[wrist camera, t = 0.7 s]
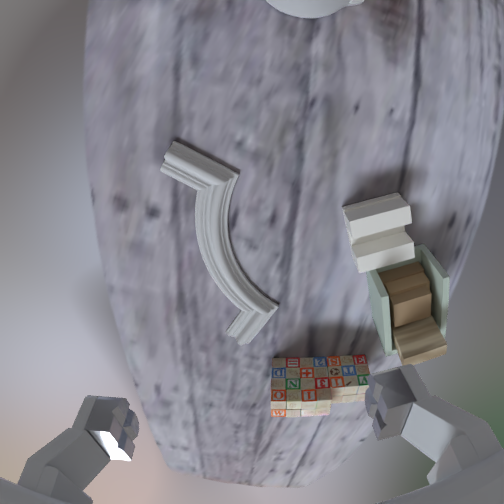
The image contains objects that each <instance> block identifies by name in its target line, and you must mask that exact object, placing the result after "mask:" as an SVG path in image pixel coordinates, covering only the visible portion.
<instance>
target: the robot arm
mask: <svg viewBox="0 0 504 504" xmlns="http://www.w3.org/2000/svg"><path fill="white" fill-rule="evenodd" d="M266 1H267V2H268V3H269V4H270V5H272V6H273V7H274V8H276V9H278V10H279V11H281V12H284V13H286V14H289V15H292V16H296V17H301V18H318V17H324V16H327V15H330V14H333V13H335V12H336V11H338V10H340V9H341V8H343V7H346V6H353V5H359V4H362V3H363V2H364V1H365V0H266ZM367 382H368V385H369V388H368V389H367V390H366V392H365V405H366V410H367V413H368V415H369V416H370V417H371V418H373V419H374V421H373V425H372V426H373V429H374V432H375V435H376V437H377V440H381V439H385V438H389V437H393V436H397V435H400V434H401V436H402V437H403V438H405V439H406V440H407V441H408V442H410V443H411V444H412V445H414V446H415V447H416V448H418V449H419V450H420V451H422V452H423V453H424V454H426V455H427V456H428V457H430V458H431V459H432V460H434V461H435V462H436V463H435V465H434V466H433V468H432V469H431V471H430V472H429V474H428V475H427V479H428V481H429V484H430V485H428V486H425V487H423V488H420V489H418V490H415V491H412V492H409V493H407V494H404V495H401V496H398V497H395V498H392V499H389V500H385V501H382V502H379V503H375V504H504V448H503V449H502V447H501V445H500V443H499V442H498V440H497V438H496V437H495V435H494V433H493V431H492V430H491V428H490V426H489V425H488V423H487V422H486V421H484V420H482V419H480V418H478V417H476V416H474V415H472V414H470V413H468V412H467V411H464V410H463V409H461V408H459V407H457V406H455V405H453V404H451V403H449V402H447V401H445V400H443V399H441V398H439V397H437V396H431V395H430V393H429V391H428V389H427V388H426V386H425V384H424V382H423V381H422V379H421V377H420V376H419V374H418V373H417V371H416V369H415V367H414V366H413V365H412V364H408V365H404V366H400V367H397V368H392V369H388V370H384V371H380V372H376V373H372V374H370V375H369V376H368V381H367ZM129 405H130V404H129V403H128V401H127V399H126V398H116V397H102V396H91V395H88V396H87V397H85V399H84V401H83V403H82V405H81V408H80V410H79V412H78V415H77V417H76V419H75V421H74V424H73V426H72V428H68V429H66V430H65V431H64V432H62V433H61V434H60V435H59V436H57V437H56V438H55V439H53V440H52V441H51V442H49V443H48V444H47V445H45V446H44V447H43V448H41V449H40V450H39V451H37V452H36V453H35V454H33V455H32V456H31V457H30V458H28V460H27V462H26V464H25V467H24V469H23V472H22V474H21V476H20V479H19V481H18V484H15V483H13V482H11V481H8V480H6V479H4V478H2V477H0V504H92V503H93V500H92V499H91V497H89V496H88V495H87V494H86V493H84V492H83V490H84V489H85V488H86V487H87V485H88V484H89V483H90V482H91V481H92V480H93V479H94V478H95V477H96V476H97V474H99V473H100V471H101V470H102V469H103V468H104V467H105V466H106V465H107V464H108V463H109V461H110V460H111V459H118V460H130V461H131V460H132V456H133V452H134V448H135V445H134V443H133V440H134V439H135V438H136V437H137V436H138V432H139V422H138V419H137V416H136V414H135V413H134V412H133V411H132V410H130V409H129Z"/></svg>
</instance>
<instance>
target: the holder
mask: <svg viewBox="0 0 504 504" xmlns="http://www.w3.org/2000/svg"><path fill="white" fill-rule="evenodd" d="M342 210H343V214H344V219H345V223H346V228H347V233H348V237H349V242H350V247H351V252H352V257H353V260H354V262H355V264H356V267H357V269H358V272H359V273H363V272H366V271H370V270H374V269H377V268H381V267H384V266H388V265H391V264H395V263H398V262H402V261H405V260H409V259H412V258H415V252H414V242H413V240H412V239H411V238H410V237H409V236H408V234H407V233H406V232H405V225H407V224H411V223H412V219H411V210H410V205H409V204H408V203H407V202H406V201H405V200H404V199H402V198H401V195H400V194H399V193H398V192H397V193H393V194H389V195H385V196H381V197H377V198H374V199H370V200H366V201H362V202H358V203H355V204H351V205H347V206H343V207H342Z"/></svg>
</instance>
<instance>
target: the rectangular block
mask: <svg viewBox="0 0 504 504" xmlns="http://www.w3.org/2000/svg"><path fill="white" fill-rule="evenodd" d="M390 322H391V335H392V338H393V341H394V343H395V346H396V349H397V351H398V354H399V357H400V360H401V363H402V365H403V366H404V365H408V364H412V365H415V364H418V363H421V362H424V361H427V360H430V359H433V358H436V357H438V356H441V355H444V354H446V350H447V343H446V341H445V339H444V337H443V335H442V333H441V332H440V330H439V328H438V326H437V324H436V322H435V320H434V319H433V317H432V315H431V316H430V317H427V318H424V319H421V320H417V321H414V322H411V323H408V324H405V325H401V326H398V327H394V324H393V322H392V320H391V317H390Z"/></svg>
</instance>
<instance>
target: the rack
mask: <svg viewBox="0 0 504 504" xmlns="http://www.w3.org/2000/svg"><path fill="white" fill-rule="evenodd" d="M414 252H415V258H412V259H409V260H405V261H402V262H398V263H395V264H391V265H388V266H384V267H381V268H377V269H374V270H370V271H366V274H367V281H368V288H369V295H370V302H371V310H372V318H373V320H374V323H375V326H376V329H377V332H378V335H379V338H380V341H381V344H382V347H383V350H384V353H385V356H386V357H387V356H390V355H394V354H397V353H398V351H397V349H396V346H395V343H394V341H393V338H392V335H391V322H390V317H391V320H392V322H393V324H394V327H398V326H401V325H405V324H408V323H411V322H414V321H417V320H421V319H424V318H427V317H430V316H431V315H432V317H433V319H434V320H435V322H436V324H437V326H438V328H439V330H440V332H441V333H442V335H443V337H444V338H445V333H446V323H447V312H448V300H449V281H450V276H449V275H448V274H447V272H446V271H445V270H444V269H443V267H442V266H441V265H440V263H439V262H438V261H437V260H436V258H435V257H434V256H433V255H432V253H431V252H430V251H429V250H428V248H427V247H426V246H425V245H424V244H421V245H417V246H414Z"/></svg>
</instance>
